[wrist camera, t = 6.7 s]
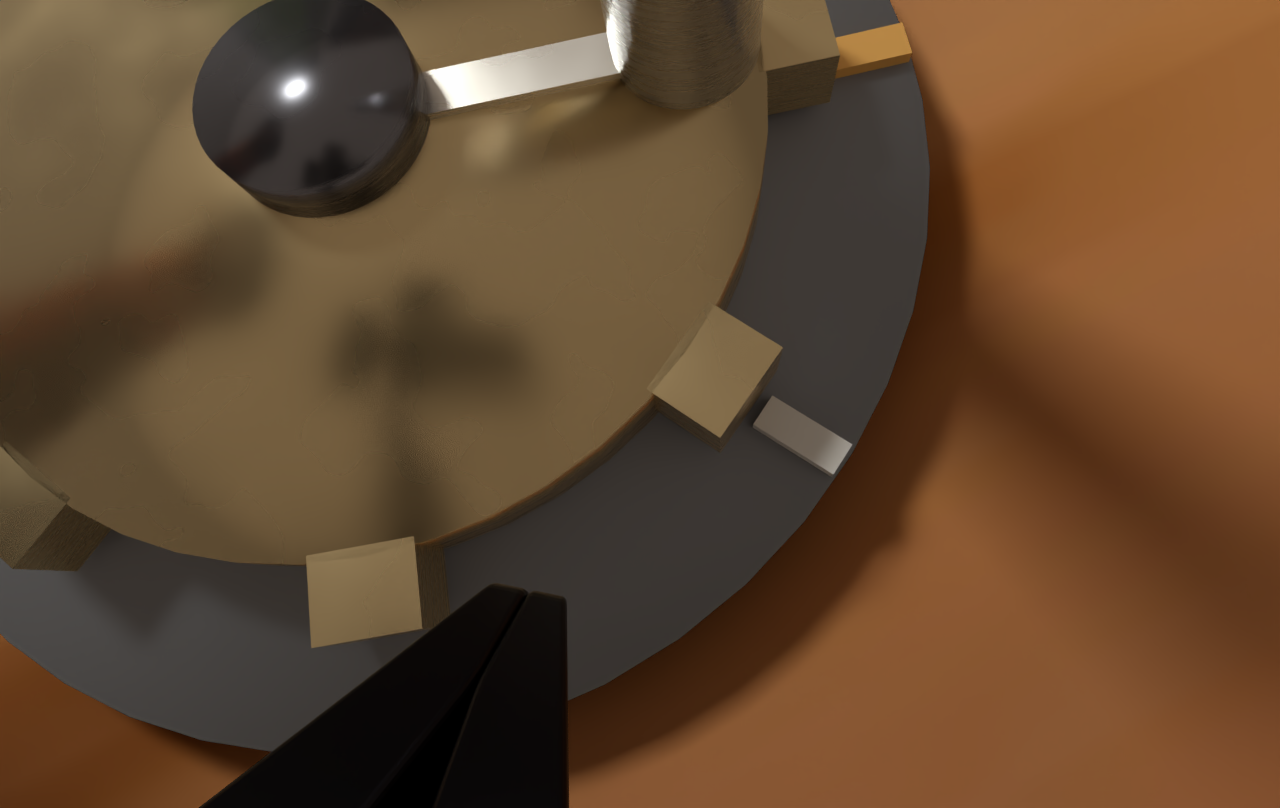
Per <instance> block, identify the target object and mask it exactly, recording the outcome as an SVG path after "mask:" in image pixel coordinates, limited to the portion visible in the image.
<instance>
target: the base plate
mask: <svg viewBox="0 0 1280 808" xmlns="http://www.w3.org/2000/svg"><path fill="white" fill-rule="evenodd" d="M0 1H1V0H0ZM825 2H826V6H827V9H828V13H829V16H830V20H831V24H832V27H833V31H834V35H835V38H836V42H837V46H838V49H839V53H840V58H839V63H838V67H837V72H836V76H835V81H834V85H833V90H832V94H831V99H830V102H828V103H823V104H819V105H814V106H809V107H804V108H799V109H795V110H790V111H785V112H780V113H775V114H771V115H768V136H767V145H766V155H765V165H764V174H763V182H762V189H761V196H760V204H759V211H758V218H757V224H756V228H755V231H754V235H753V238H752V242H751V245H750V249H749V252H748V256H747V259H746V263H745V266H744V270H743V273H742V276H741V278H740V280H739V283H738V285H737V287H736V289H735V292H734V294H733V296H732V298H731V301H730V303H729V305H728V307H727V310H726V312H727V313H728V314H730V315H732V316H733V317H735V318H736V319H738V320H740V321H741V322H743V323H744V324H746V325H748V326H749V327H751V328H753V329H754V330H756V331H757V332H759V333H761V334H762V335H764V336H765V337H767V338H769V339H770V340H772V341H773V342H775V343H777V344H778V345H780V346H782V347H783V349H782V353H781V357H780V361H779V365H778V369H777V372H776V373H775V375H774V376H773V377H772V379H771V380H770V382H769V383H768V385H767V386H766V388H765V389H764V390H763V392H762V393H761V395H760V396H759V398H758V399H757V401H756V402H755V403H754V405H753V406H752V408H751V409H750V411H749V412H748V414H747V415H746V416H745V418H744V419H743V421H742V422H741V424H740V425H739V427H738V428H737V429H736V431H735V432H734V434H733V435H732V437H731V438H730V440H729V441H728V443H727V444H726V445H725V447H724V448H723V450H722V451H721V453H720V452H718V451H717V450H715V449H714V448H712V447H711V446H709V445H708V444H706V443H705V442H703V441H702V440H700V439H699V438H697V437H696V436H694V435H693V434H691V433H690V432H688V431H687V430H685V429H684V428H682V427H681V426H679V425H678V424H676V423H675V422H673V421H672V420H670V419H669V418H667V417H666V416H664V415H663V414H661V413H660V412H658V413H657V414H656V416H655V417H654V418H653V419H652V420H651V421H650V422H649V423H648V424H647V425H646V426H645V427H644V428H643V429H642V430H641V431H640V432H638V433H637V434H636V435H635V436H634V437H633V438H632V439H631V440H630V441H629V442H628V443H627V444H626V445H625V446H624V447H623V448H622V449H621V450H619V451H618V452H617V453H616V454H615V455H614V456H613V457H612V458H611V459H610V460H609V461H607V462H606V463H605V464H603V465H602V466H600V467H599V468H598V469H596V470H595V471H594V472H592V473H591V474H590V475H588V476H587V477H585V478H584V479H583V480H581V481H580V482H579V483H577V484H576V485H575V486H573V487H572V488H570V489H569V490H568V491H566V492H565V493H564V494H562V495H561V496H559V497H557V498H555V499H553V500H552V501H550V502H548V503H546V504H544V505H543V506H541V507H539V508H537V509H535V510H534V511H532V512H530V513H528V514H526V515H524V516H523V517H521V518H519V519H517V520H515V521H514V522H512V523H510V524H508V525H506V526H503V527H501V528H498V529H495V530H493V531H490V532H488V533H485V534H483V535H480V536H478V537H475V538H473V539H470V540H468V541H465V542H463V543H460V544H457V545H455V546H452V547H448V548H444V555H445V565H446V575H447V585H448V594H449V604H450V614H451V613H452V612H454V611H455V610H456V609H457V608H459V607H460V606H461V605H463V604H464V603H465V602H467V601H468V600H469V599H470V598H472V597H473V596H474V595H476V594H477V593H478V592H480V591H481V590H482V589H483V588H485V587H486V586H488V585H490V584H493V583H500V584H505V585H510V586H515V587H520V588H523V589H525V590H527V591H528V593H530V592H532V591H540V592H545V593H549V594H554V595H559V596H563V597H564V598H565V599H566V601H567V651H568V700H571V699H573V698H575V697H577V696H580V695H582V694H584V693H586V692H589V691H591V690H593V689H596V688H598V687H600V686H602V685H605V684H606V683H608V682H610V681H611V680H613V679H615V678H616V677H618V676H620V675H621V674H623V673H624V672H626V671H628V670H629V669H631V668H633V667H634V666H636V665H637V664H639V663H641V662H642V661H644V660H646V659H647V658H649V657H650V656H652V655H654V654H655V653H657V652H659V651H660V650H662V649H663V648H665V647H667V646H668V645H670V644H672V643H673V642H675V641H676V640H678V639H680V638H681V637H682V636H683V635H685V634H686V633H687V632H688V631H689V630H691V629H692V628H693V627H694V626H696V625H697V624H698V623H699V622H700V621H702V620H703V619H704V618H705V617H707V616H708V615H709V614H710V613H711V612H713V611H714V610H715V609H716V608H718V607H719V606H720V605H721V604H722V603H724V602H725V601H726V600H727V599H729V598H730V597H731V596H732V595H733V594H735V593H736V592H737V591H738V590H740V589H741V588H742V587H743V586H744V585H746V584H747V583H748V582H749V581H750V579H751V578H752V577H753V576H754V575H755V574H756V573H757V572H758V571H759V570H760V569H761V568H762V567H763V565H764V564H765V563H766V562H767V561H768V560H769V559H770V558H771V557H772V556H773V555H774V554H775V553H776V551H777V550H778V549H779V548H780V547H781V546H782V545H783V544H784V543H785V542H786V541H787V540H788V539H789V538H790V536H791V535H792V534H793V533H794V532H795V531H796V530H797V529H798V528H799V527H800V526H801V525H802V524H803V522H804V521H805V520H806V518H807V517H808V516H809V514H810V513H811V511H812V510H813V508H814V507H815V506H816V504H817V503H818V501H819V500H820V499H821V497H822V496H823V494H824V493H825V491H826V490H827V489H828V487H829V486H830V484H831V483H832V481H833V480H834V479H835V477H836V476H837V474H838V473H839V472H840V470H841V469H842V467H843V466H844V464H845V463H846V462H847V460H848V459H849V457H850V456H851V454H852V453H853V451H854V449H855V447H856V445H857V443H858V441H859V439H860V437H861V435H862V433H863V431H864V429H865V427H866V425H867V423H868V421H869V419H870V417H871V416H872V414H873V412H874V410H875V408H876V406H877V404H878V402H879V400H880V398H881V396H882V394H883V392H884V390H885V388H886V386H887V384H888V382H889V379H890V376H891V373H892V370H893V368H894V365H895V362H896V359H897V356H898V353H899V350H900V347H901V344H902V342H903V339H904V336H905V333H906V330H907V327H908V324H909V321H910V318H911V316H912V313H913V309H914V304H915V299H916V293H917V288H918V283H919V278H920V272H921V267H922V262H923V257H924V251H925V246H926V241H927V227H928V202H929V177H930V164H929V155H928V146H927V137H926V128H925V119H924V109H923V100H922V96H921V93H920V89H919V85H918V81H917V78H916V74H915V70H914V67H913V63H912V59H911V55H912V51H911V48H910V44H909V41H908V38H907V35H906V32H905V29H904V26H903V23H899V21H898V19H897V16H896V14H895V12H894V9H893V7H892V5H891V3H890V0H825ZM429 630H430V629H429ZM429 630H423V631H417V632H411V633H406V634H400V635H394V636H388V637H383V638H377V639H371V640H366V641H360V642H354V643H347V644H340V645H332V646H324V647H317V648H311V634H310V617H309V599H308V581H307V566H277V565H262V564H247V563H234V562H228V561H223V560H217V559H211V558H205V557H200V556H194V555H188V554H182V553H177V552H173V551H170V550H167V549H164V548H161V547H158V546H155V545H153V544H150V543H147V542H144V541H141V540H138V539H135V538H132V537H129V536H126V535H123V534H120V533H118V532H117V531H115V530H113V529H111V530H110V532H109V533H108V534H107V535H106V537H105V538H104V539H103V540H102V541H101V543H100V544H99V545H98V546H97V548H96V549H95V550H94V551H93V553H92V554H91V555H90V556H89V557H88V559H87V560H86V561H85V562H84V564H83V565H82V566H81V567H80V569H79V570H78V571H54V570H27V569H12V568H11V567H10V566H9V565H8V564H6V563H5V562H4V561H3V560H2V559H1V558H0V634H1V635H2V636H3V637H4V638H5V639H6V640H7V641H8V642H9V643H11V644H12V645H14V646H15V647H16V648H18V649H19V650H20V651H22V652H23V653H24V654H26V655H27V656H28V657H30V658H31V659H32V660H34V661H35V662H36V663H38V664H39V665H41V666H42V667H43V668H45V669H46V670H47V671H49V672H50V673H51V674H53V675H54V676H55V677H57V678H58V679H59V680H61V681H62V682H63V683H65V684H67V685H69V686H71V687H73V688H75V689H77V690H79V691H80V692H82V693H84V694H86V695H88V696H90V697H92V698H94V699H96V700H98V701H100V702H102V703H104V704H106V705H108V706H110V707H112V708H114V709H115V710H117V711H119V712H121V713H123V714H125V715H127V716H129V717H132V718H135V719H138V720H141V721H144V722H147V723H150V724H153V725H156V726H159V727H162V728H166V729H169V730H172V731H175V732H178V733H181V734H184V735H187V736H190V737H193V738H196V739H199V740H203V741H209V742H215V743H221V744H227V745H234V746H240V747H246V748H252V749H258V750H265V751H271V752H272V751H273V750H274V749H276V748H277V747H278V746H280V745H281V744H282V743H283V742H285V741H286V740H287V739H289V738H290V737H291V736H293V735H294V734H295V733H296V732H298V731H299V730H300V729H302V728H303V727H304V726H306V725H307V724H308V723H309V722H311V721H312V720H313V719H315V718H316V717H317V716H319V715H320V714H321V713H322V712H324V711H325V710H326V709H328V708H329V707H330V706H331V705H333V704H334V703H335V702H337V701H338V700H339V699H341V698H342V697H343V696H344V695H346V694H347V693H348V692H350V691H351V690H352V689H354V688H355V687H356V686H357V685H359V684H360V683H361V682H363V681H364V680H365V679H367V678H368V677H369V676H370V675H372V674H373V673H374V672H376V671H377V670H378V669H380V668H381V667H382V666H383V665H385V664H386V663H387V662H389V661H390V660H391V659H393V658H394V657H395V656H396V655H398V654H399V653H400V652H402V651H403V650H404V649H406V648H407V647H408V646H409V645H411V644H412V643H413V642H415V641H416V640H417V639H419V638H420V637H421V636H422V635H424V634H425V633H426V632H428V631H429Z"/></svg>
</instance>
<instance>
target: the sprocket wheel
mask: <svg viewBox="0 0 1280 808" xmlns="http://www.w3.org/2000/svg"><path fill="white" fill-rule="evenodd" d="M839 58H840V53H839V49H838V46H837V42H836V38H835V35H834V31H833V27H832V24H831V20H830V16H829V13H828V9H827V6H826V2H825V0H1V1H0V558H1V559H2V560H3V561H4V562H5V563H6V564H8V565H9V566H10V567H11V568H12V569H27V570H54V571H78V570H79V569H80V567H81V566H82V565H83V564H84V562H85V561H86V560H87V559H88V557H89V556H90V555H91V554H92V553H93V551H94V550H95V549H96V548H97V546H98V545H99V544H100V543H101V541H102V540H103V539H104V538H105V537H106V535H107V534H108V533H109V532H110V530H111V529H113V530H115V531H117V532H118V533H120V534H123V535H126V536H129V537H132V538H135V539H138V540H141V541H144V542H147V543H150V544H153V545H155V546H158V547H161V548H164V549H167V550H170V551H173V552H177V553H182V554H188V555H194V556H200V557H205V558H211V559H217V560H223V561H228V562H234V563H247V564H262V565H277V566H307V581H308V599H309V617H310V634H311V648H317V647H324V646H332V645H340V644H347V643H354V642H360V641H366V640H371V639H377V638H383V637H388V636H394V635H400V634H406V633H411V632H417V631H423V630H429V629H431V628H433V627H434V626H435V625H437V624H438V623H439V622H441V621H442V620H443V619H444V618H446V617H447V616H448V615H450V604H449V594H448V585H447V575H446V565H445V555H444V548H448V547H452V546H455V545H457V544H460V543H463V542H465V541H468V540H470V539H473V538H475V537H478V536H480V535H483V534H485V533H488V532H490V531H493V530H495V529H498V528H501V527H503V526H506V525H508V524H510V523H512V522H514V521H515V520H517V519H519V518H521V517H523V516H524V515H526V514H528V513H530V512H532V511H534V510H535V509H537V508H539V507H541V506H543V505H544V504H546V503H548V502H550V501H552V500H553V499H555V498H557V497H559V496H561V495H562V494H564V493H565V492H566V491H568V490H569V489H570V488H572V487H573V486H575V485H576V484H577V483H579V482H580V481H581V480H583V479H584V478H585V477H587V476H588V475H590V474H591V473H592V472H594V471H595V470H596V469H598V468H599V467H600V466H602V465H603V464H605V463H606V462H607V461H609V460H610V459H611V458H612V457H613V456H614V455H615V454H616V453H617V452H618V451H619V450H621V449H622V448H623V447H624V446H625V445H626V444H627V443H628V442H629V441H630V440H631V439H632V438H633V437H634V436H635V435H636V434H637V433H638V432H640V431H641V430H642V429H643V428H644V427H645V426H646V425H647V424H648V423H649V422H650V421H651V420H652V419H653V418H654V417H655V416H656V414H657V413H658V412H660V413H661V414H663V415H664V416H666V417H667V418H669V419H670V420H672V421H673V422H675V423H676V424H678V425H679V426H681V427H682V428H684V429H685V430H687V431H688V432H690V433H691V434H693V435H694V436H696V437H697V438H699V439H700V440H702V441H703V442H705V443H706V444H708V445H709V446H711V447H712V448H714V449H715V450H717V451H718V452H720V453H721V451H722V450H723V448H724V447H725V445H726V444H727V443H728V441H729V440H730V438H731V437H732V435H733V434H734V432H735V431H736V429H737V428H738V427H739V425H740V424H741V422H742V421H743V419H744V418H745V416H746V415H747V414H748V412H749V411H750V409H751V408H752V406H753V405H754V403H755V402H756V401H757V399H758V398H759V396H760V395H761V393H762V392H763V390H764V389H765V388H766V386H767V385H768V383H769V382H770V380H771V379H772V377H773V376H774V375H775V373H776V372H777V369H778V365H779V361H780V357H781V353H782V349H783V347H782V346H780V345H778V344H777V343H775V342H773V341H772V340H770V339H769V338H767V337H765V336H764V335H762V334H761V333H759V332H757V331H756V330H754V329H753V328H751V327H749V326H748V325H746V324H744V323H743V322H741V321H740V320H738V319H736V318H735V317H733V316H732V315H730V314H728V313H727V312H726V310H727V307H728V305H729V303H730V301H731V298H732V296H733V294H734V292H735V289H736V287H737V285H738V283H739V280H740V278H741V276H742V273H743V270H744V266H745V263H746V259H747V256H748V252H749V249H750V245H751V242H752V238H753V235H754V231H755V228H756V224H757V218H758V211H759V204H760V196H761V189H762V182H763V174H764V165H765V155H766V145H767V136H768V115H771V114H775V113H780V112H785V111H790V110H795V109H799V108H804V107H809V106H814V105H819V104H823V103H828V102H830V99H831V94H832V90H833V85H834V81H835V76H836V72H837V67H838V63H839Z"/></svg>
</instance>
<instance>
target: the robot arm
mask: <svg viewBox="0 0 1280 808" xmlns="http://www.w3.org/2000/svg"><path fill="white" fill-rule="evenodd" d="M199 808H569V755H568V651H567V601H566V599H565V598H564V597H563V596H559V595H554V594H549V593H545V592H540V591H532V592H530V593H528V591H527V590H525V589H523V588H520V587H515V586H510V585H505V584H500V583H493V584H490V585H488V586H486V587H485V588H483V589H482V590H481V591H480V592H478V593H477V594H476V595H474V596H473V597H472V598H470V599H469V600H468V601H467V602H465V603H464V604H463V605H461V606H460V607H459V608H457V609H456V610H455V611H454V612H452V613H451V614H450V615H448V616H447V617H446V618H444V619H443V620H442V621H441V622H439V623H438V624H437V625H435V626H434V627H433V628H431V629H430V630H429V631H428V632H426V633H425V634H424V635H422V636H421V637H420V638H419V639H417V640H416V641H415V642H413V643H412V644H411V645H409V646H408V647H407V648H406V649H404V650H403V651H402V652H400V653H399V654H398V655H396V656H395V657H394V658H393V659H391V660H390V661H389V662H387V663H386V664H385V665H383V666H382V667H381V668H380V669H378V670H377V671H376V672H374V673H373V674H372V675H370V676H369V677H368V678H367V679H365V680H364V681H363V682H361V683H360V684H359V685H357V686H356V687H355V688H354V689H352V690H351V691H350V692H348V693H347V694H346V695H344V696H343V697H342V698H341V699H339V700H338V701H337V702H335V703H334V704H333V705H331V706H330V707H329V708H328V709H326V710H325V711H324V712H322V713H321V714H320V715H319V716H317V717H316V718H315V719H313V720H312V721H311V722H309V723H308V724H307V725H306V726H304V727H303V728H302V729H300V730H299V731H298V732H296V733H295V734H294V735H293V736H291V737H290V738H289V739H287V740H286V741H285V742H283V743H282V744H281V745H280V746H278V747H277V748H276V749H274V750H273V751H272V752H270V753H269V754H268V755H267V756H265V757H264V758H263V759H261V760H260V761H259V762H257V763H256V764H255V765H254V766H252V767H251V768H250V769H248V770H247V771H246V772H245V773H243V774H242V775H241V776H239V777H238V778H237V779H235V780H234V781H233V782H232V783H230V784H229V785H228V786H226V787H225V788H224V789H222V790H221V791H220V792H219V793H217V794H216V795H215V796H213V797H212V798H211V799H209V800H208V801H207V802H206V803H204V804H203V805H202V806H200V807H199Z"/></svg>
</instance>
